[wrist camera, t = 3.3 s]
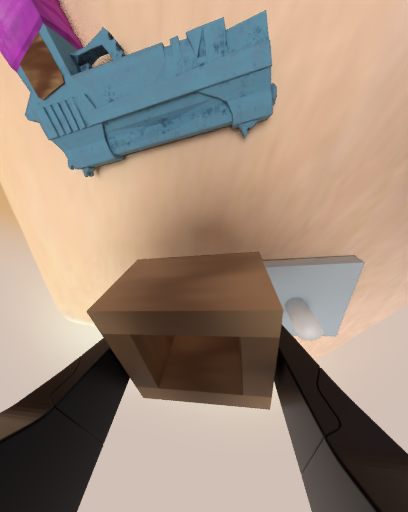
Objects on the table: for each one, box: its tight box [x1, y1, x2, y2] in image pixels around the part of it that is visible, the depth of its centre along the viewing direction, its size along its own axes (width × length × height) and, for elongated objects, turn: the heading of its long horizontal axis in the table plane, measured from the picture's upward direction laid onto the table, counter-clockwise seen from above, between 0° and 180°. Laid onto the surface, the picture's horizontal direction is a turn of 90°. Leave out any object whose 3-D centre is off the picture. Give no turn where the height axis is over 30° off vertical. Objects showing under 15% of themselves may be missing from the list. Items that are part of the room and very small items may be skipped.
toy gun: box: [0, 0, 277, 177], centre depth 11 cm, size 4×20×15 cm
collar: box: [87, 252, 284, 409], centre depth 9 cm, size 7×7×4 cm
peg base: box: [263, 256, 365, 341], centre depth 19 cm, size 12×12×6 cm
